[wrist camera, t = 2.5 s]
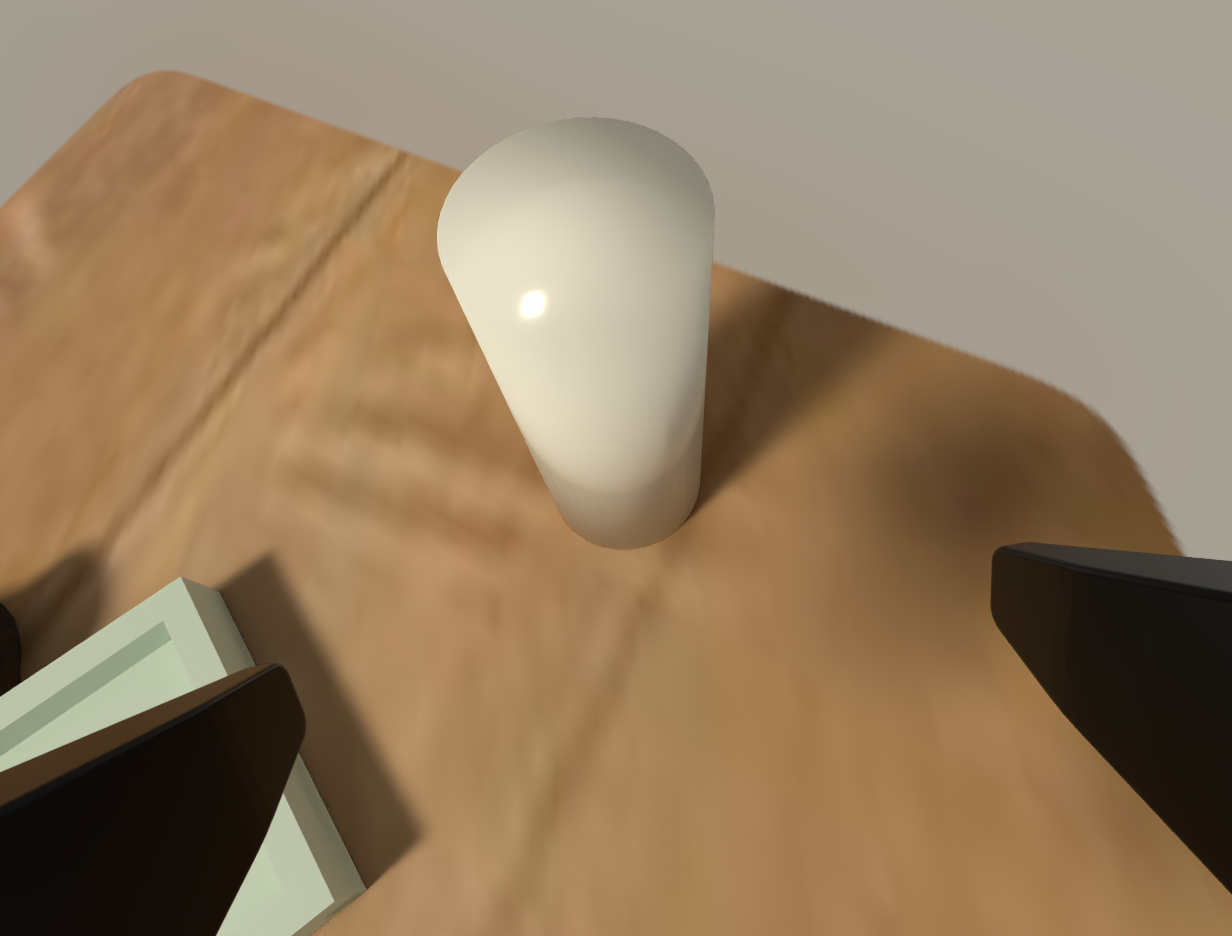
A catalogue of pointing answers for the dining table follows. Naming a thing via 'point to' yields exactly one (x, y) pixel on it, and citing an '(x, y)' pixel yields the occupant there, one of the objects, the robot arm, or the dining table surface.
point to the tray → (158, 672)
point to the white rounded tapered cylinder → (593, 313)
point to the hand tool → (9, 652)
